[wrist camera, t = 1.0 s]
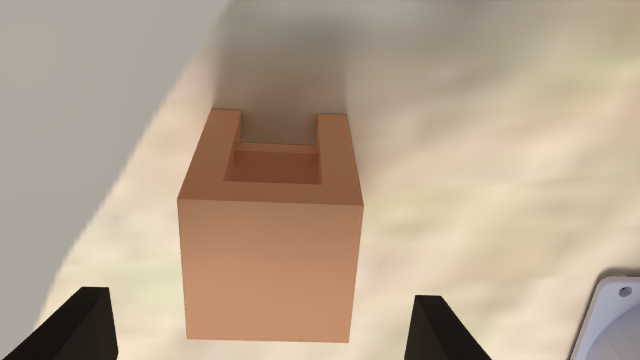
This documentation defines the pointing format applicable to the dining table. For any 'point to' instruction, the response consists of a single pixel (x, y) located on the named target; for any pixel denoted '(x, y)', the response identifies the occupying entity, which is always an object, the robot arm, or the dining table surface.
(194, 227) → the notched tan cube
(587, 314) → the robot arm
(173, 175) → the dining table surface
